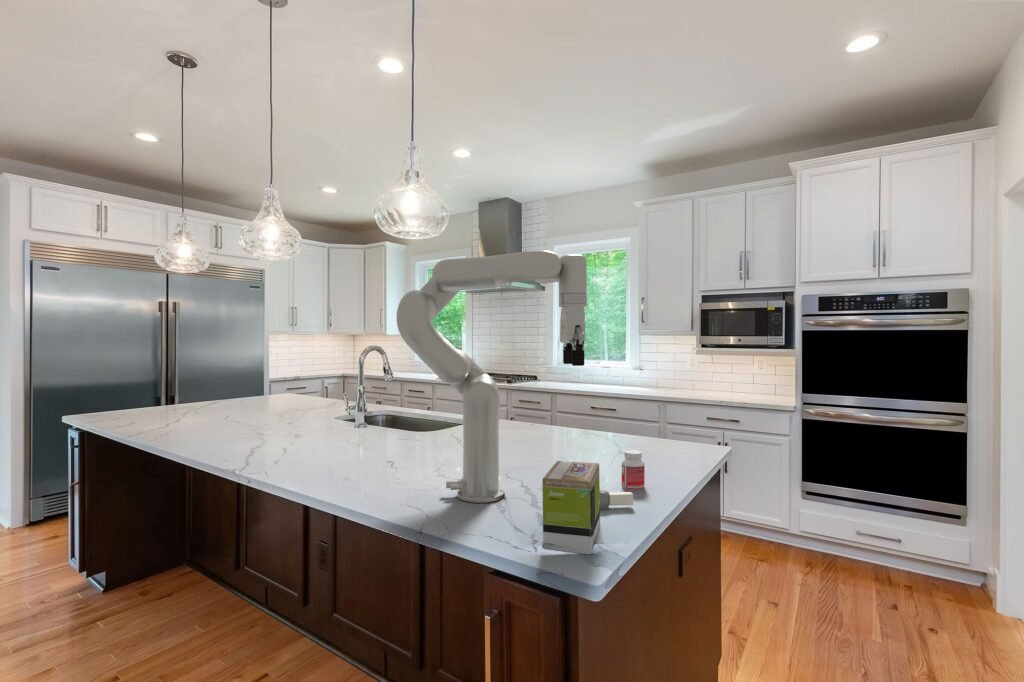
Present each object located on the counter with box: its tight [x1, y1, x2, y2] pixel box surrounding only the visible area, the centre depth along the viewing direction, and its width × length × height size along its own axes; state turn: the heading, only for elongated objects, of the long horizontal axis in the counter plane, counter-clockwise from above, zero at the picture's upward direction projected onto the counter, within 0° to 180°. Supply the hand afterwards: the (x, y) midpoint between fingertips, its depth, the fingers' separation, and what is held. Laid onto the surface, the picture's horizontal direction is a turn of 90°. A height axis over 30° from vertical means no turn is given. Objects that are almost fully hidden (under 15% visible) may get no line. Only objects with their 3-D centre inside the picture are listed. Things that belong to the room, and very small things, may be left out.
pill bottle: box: [621, 449, 646, 491], centre depth 139 cm, size 6×6×11 cm
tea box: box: [541, 460, 601, 555], centre depth 106 cm, size 15×10×15 cm, turn 163°
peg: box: [600, 489, 634, 511], centre depth 121 cm, size 9×3×4 cm, turn 96°
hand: (573, 364), depth 135 cm, fingers open, 9 cm apart
